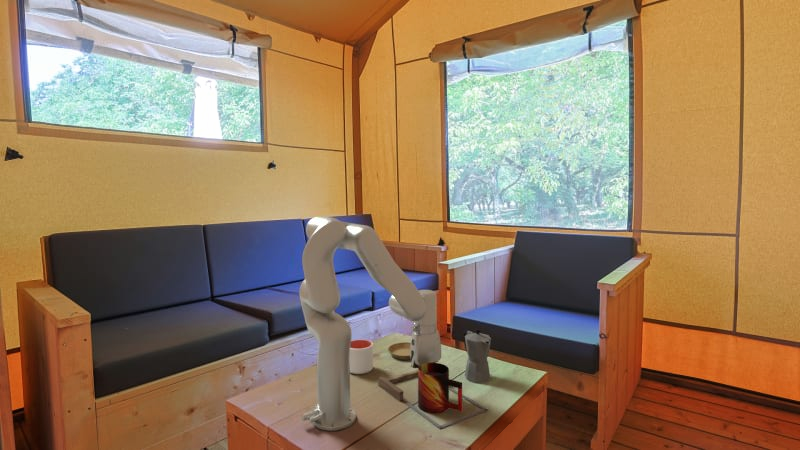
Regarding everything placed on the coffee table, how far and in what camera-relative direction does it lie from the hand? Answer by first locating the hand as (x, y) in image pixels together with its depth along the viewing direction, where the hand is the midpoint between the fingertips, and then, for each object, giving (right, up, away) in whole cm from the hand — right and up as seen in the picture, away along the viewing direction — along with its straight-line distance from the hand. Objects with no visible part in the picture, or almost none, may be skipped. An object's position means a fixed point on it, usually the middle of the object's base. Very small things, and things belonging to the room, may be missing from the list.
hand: (425, 381), depth 142 cm
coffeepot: (+19, -3, +13) cm, 23 cm away
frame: (+6, -5, -9) cm, 12 cm away
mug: (+4, -5, -8) cm, 10 cm away
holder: (-4, -4, +6) cm, 8 cm away
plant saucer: (-6, -2, +35) cm, 35 cm away
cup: (-24, -3, +20) cm, 31 cm away
